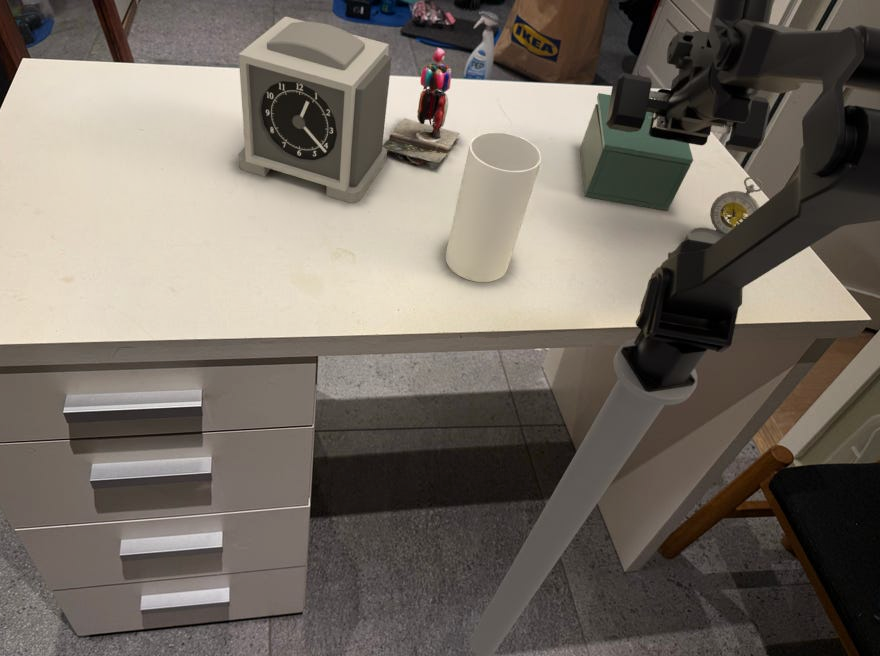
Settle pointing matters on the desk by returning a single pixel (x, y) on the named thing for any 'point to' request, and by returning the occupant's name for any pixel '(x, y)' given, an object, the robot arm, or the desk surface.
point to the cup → (491, 205)
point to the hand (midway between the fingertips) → (660, 133)
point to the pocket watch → (727, 213)
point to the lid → (640, 139)
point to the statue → (433, 105)
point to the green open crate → (627, 173)
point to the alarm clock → (315, 106)
